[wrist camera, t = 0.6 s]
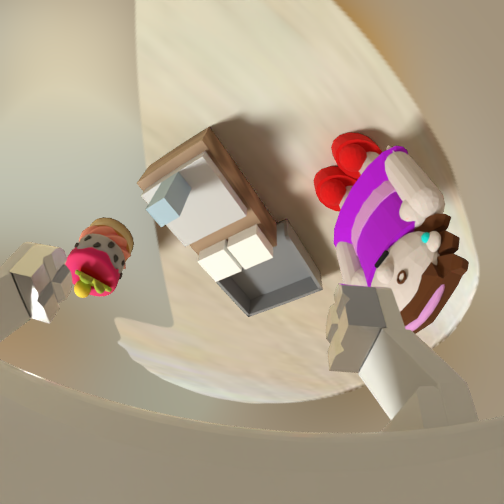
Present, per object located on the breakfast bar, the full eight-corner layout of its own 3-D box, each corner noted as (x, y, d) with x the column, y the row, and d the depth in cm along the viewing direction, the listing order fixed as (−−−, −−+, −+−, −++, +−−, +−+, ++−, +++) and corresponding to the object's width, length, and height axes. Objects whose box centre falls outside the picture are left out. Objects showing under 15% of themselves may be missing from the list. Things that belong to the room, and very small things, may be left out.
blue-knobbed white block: (145, 189, 45) (123, 224, 38) (205, 150, 41) (191, 181, 34) (187, 238, 51) (175, 278, 44) (247, 208, 47) (243, 247, 40)
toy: (348, 107, 42) (442, 224, 19) (397, 131, 43) (507, 259, 20) (300, 204, 53) (321, 368, 29) (346, 221, 54) (390, 377, 31)
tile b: (199, 251, 52) (197, 261, 50) (225, 239, 50) (223, 249, 48) (217, 271, 55) (215, 281, 53) (242, 260, 53) (241, 271, 51)
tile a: (228, 237, 50) (226, 247, 48) (256, 224, 48) (256, 234, 46) (245, 259, 53) (244, 269, 51) (273, 247, 51) (273, 257, 49)
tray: (209, 254, 60) (206, 271, 57) (286, 219, 55) (288, 235, 51) (249, 300, 68) (248, 317, 64) (320, 272, 62) (322, 289, 58)
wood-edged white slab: (149, 166, 49) (136, 183, 44) (209, 126, 45) (201, 139, 40) (218, 250, 60) (214, 273, 55) (276, 223, 55) (277, 245, 51)
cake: (126, 266, 63) (101, 323, 52) (82, 244, 60) (50, 296, 48) (142, 232, 58) (115, 290, 46) (94, 206, 54) (56, 259, 43)
